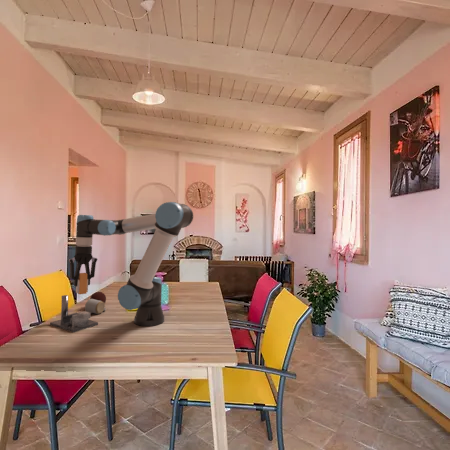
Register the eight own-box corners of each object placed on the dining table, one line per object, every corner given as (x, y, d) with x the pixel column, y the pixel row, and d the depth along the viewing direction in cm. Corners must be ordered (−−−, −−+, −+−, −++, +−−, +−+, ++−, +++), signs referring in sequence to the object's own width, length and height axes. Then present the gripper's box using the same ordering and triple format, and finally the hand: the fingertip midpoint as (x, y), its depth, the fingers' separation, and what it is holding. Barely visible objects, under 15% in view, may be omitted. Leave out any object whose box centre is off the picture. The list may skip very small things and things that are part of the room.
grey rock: (94, 323, 148) (95, 311, 148) (79, 328, 141) (80, 315, 141) (87, 321, 151) (87, 309, 151) (72, 326, 144) (72, 313, 144)
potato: (86, 310, 175) (87, 294, 176) (94, 304, 187) (94, 289, 187) (102, 310, 176) (102, 294, 176) (108, 304, 188) (108, 289, 188)
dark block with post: (98, 324, 150) (98, 298, 150) (73, 332, 139) (73, 303, 139) (74, 318, 160) (75, 293, 160) (49, 324, 149) (50, 298, 149)
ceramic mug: (96, 315, 165) (96, 301, 165) (84, 314, 167) (84, 300, 167) (109, 311, 175) (109, 297, 175) (98, 309, 177) (98, 296, 178)
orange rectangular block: (84, 292, 155) (85, 272, 154) (86, 293, 152) (87, 273, 152) (77, 293, 152) (78, 273, 152) (79, 294, 150) (80, 274, 150)
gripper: (97, 244, 160) (95, 289, 160) (63, 245, 149) (61, 292, 149) (103, 246, 155) (101, 291, 155) (68, 246, 144) (66, 295, 144)
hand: (81, 292), depth 152 cm, fingers closed on orange rectangular block, 3 cm apart
